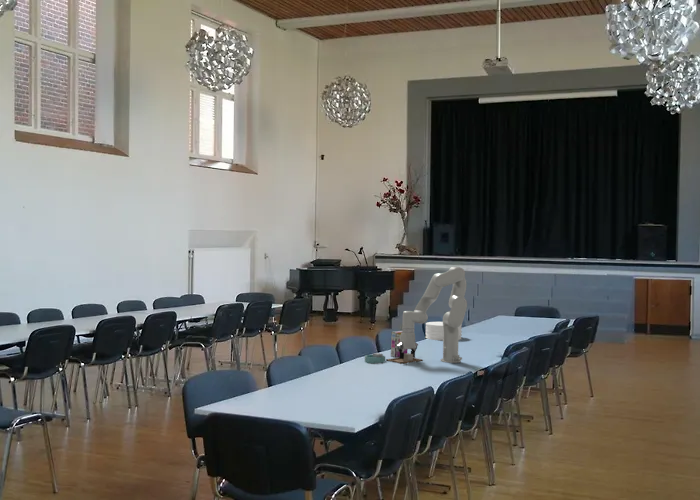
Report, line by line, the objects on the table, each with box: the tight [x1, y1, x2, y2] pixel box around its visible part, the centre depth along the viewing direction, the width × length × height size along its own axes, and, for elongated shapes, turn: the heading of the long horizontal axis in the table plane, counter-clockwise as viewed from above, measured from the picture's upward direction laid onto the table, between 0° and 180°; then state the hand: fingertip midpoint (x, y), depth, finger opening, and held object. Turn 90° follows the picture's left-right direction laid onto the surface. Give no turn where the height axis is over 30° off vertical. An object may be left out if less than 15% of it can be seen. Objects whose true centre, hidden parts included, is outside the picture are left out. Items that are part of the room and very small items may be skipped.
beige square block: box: [403, 352, 413, 362], centre depth 470 cm, size 4×4×5 cm
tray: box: [385, 357, 423, 364], centre depth 473 cm, size 14×18×1 cm
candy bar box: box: [390, 330, 409, 358], centre depth 492 cm, size 11×5×16 cm, turn 130°
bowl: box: [364, 354, 386, 364], centre depth 470 cm, size 12×12×4 cm
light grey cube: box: [372, 352, 384, 357], centre depth 468 cm, size 4×4×5 cm
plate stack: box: [425, 321, 463, 341], centre depth 587 cm, size 28×28×12 cm
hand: (407, 358), depth 470 cm, fingers open, 9 cm apart
